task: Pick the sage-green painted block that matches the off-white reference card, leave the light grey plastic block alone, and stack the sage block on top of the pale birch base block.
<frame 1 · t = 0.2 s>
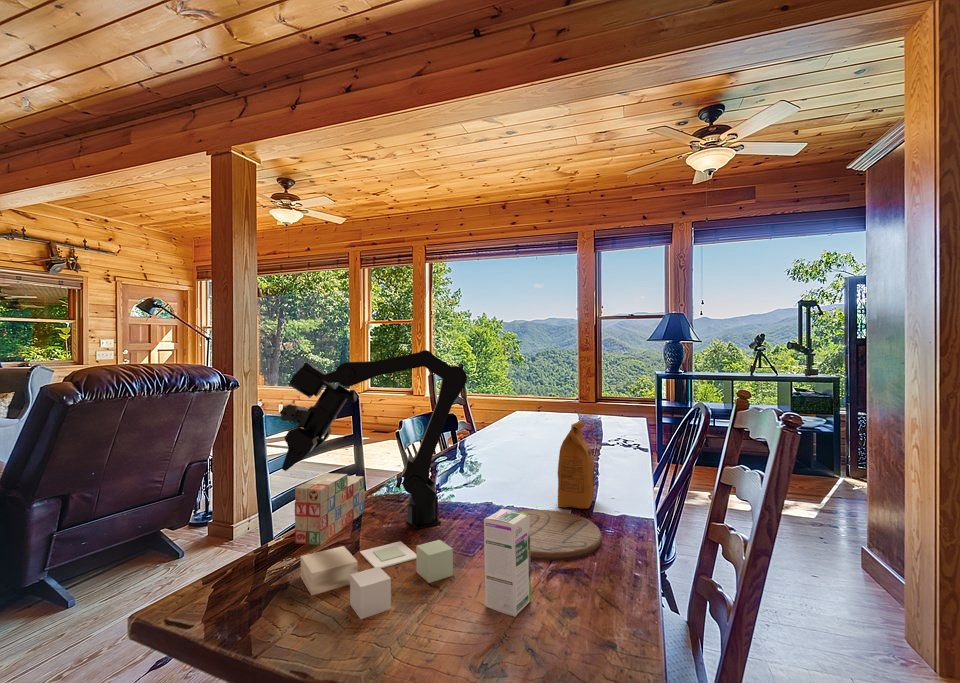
hand: (290, 465, 108), 15 cm above the table, tool tilted 30°, fingers open, 9 cm apart
coffee package: (576, 504, 125), on the table
birch base block: (328, 580, 84), on the table
sage block: (434, 574, 86), on the table
trivet: (543, 537, 104), on the table
stack of blocks: (332, 527, 109), on the table
syrup box: (507, 605, 75), on the table
reference card: (389, 555, 93), on the table
grey block: (370, 607, 75), on the table
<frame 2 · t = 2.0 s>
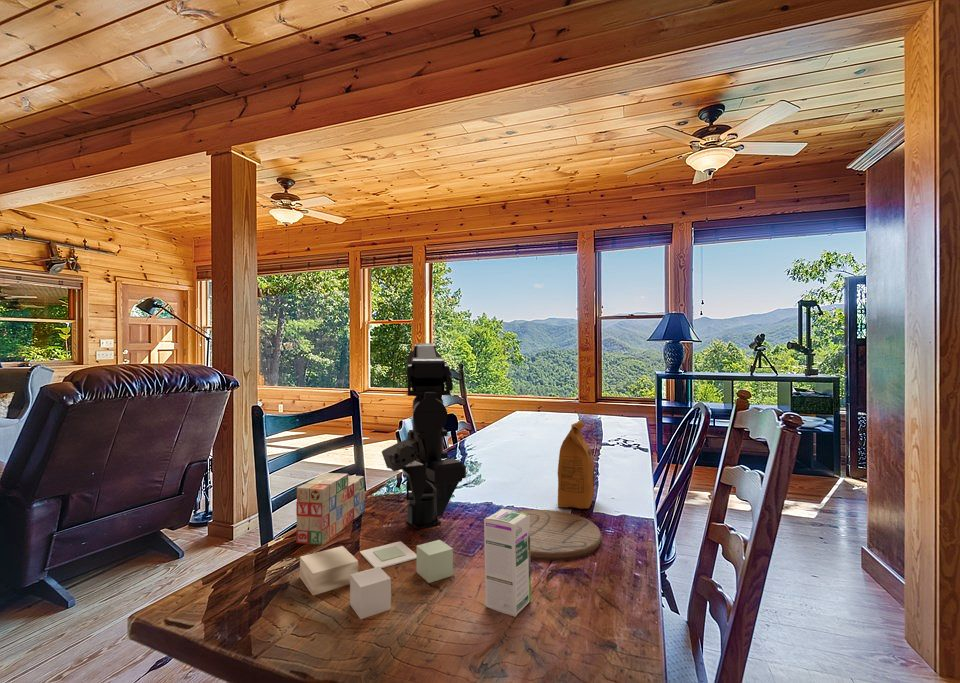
hand: (428, 509, 86), 12 cm above the table, tool pointing down, fingers open, 9 cm apart
nothing on the table moved.
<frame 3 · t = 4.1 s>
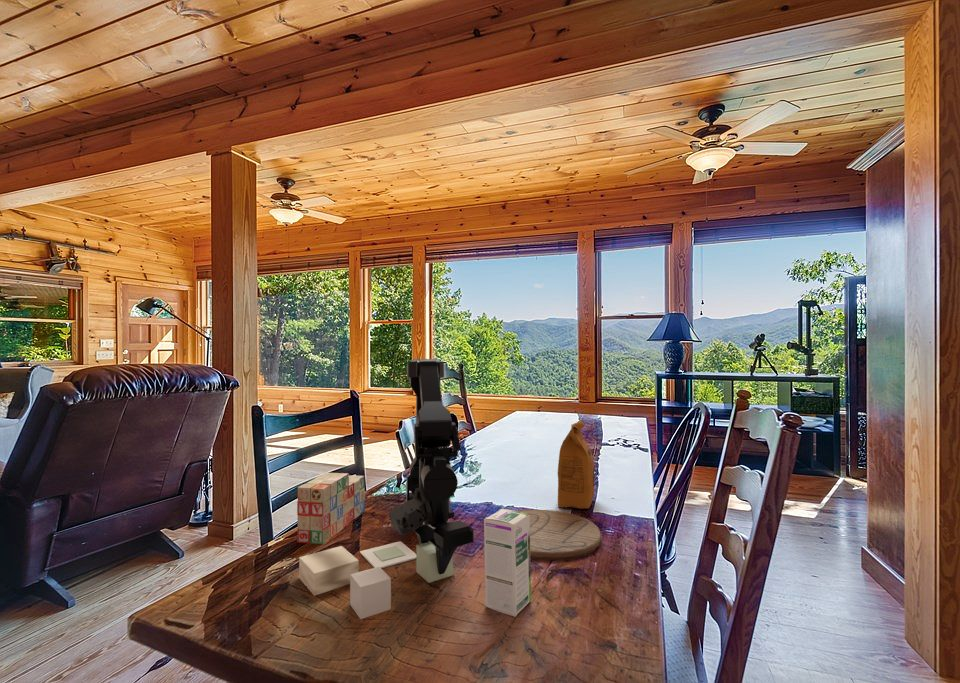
hand: (434, 567, 86), 1 cm above the table, tool pointing down, fingers closed on sage block, 5 cm apart
sage block: (434, 573, 86), on the table, touching gripper
everything else where it was.
when the fingers open (6 cm above the table, at t = 8.5 s): sage block drops 2 cm, resting on birch base block.
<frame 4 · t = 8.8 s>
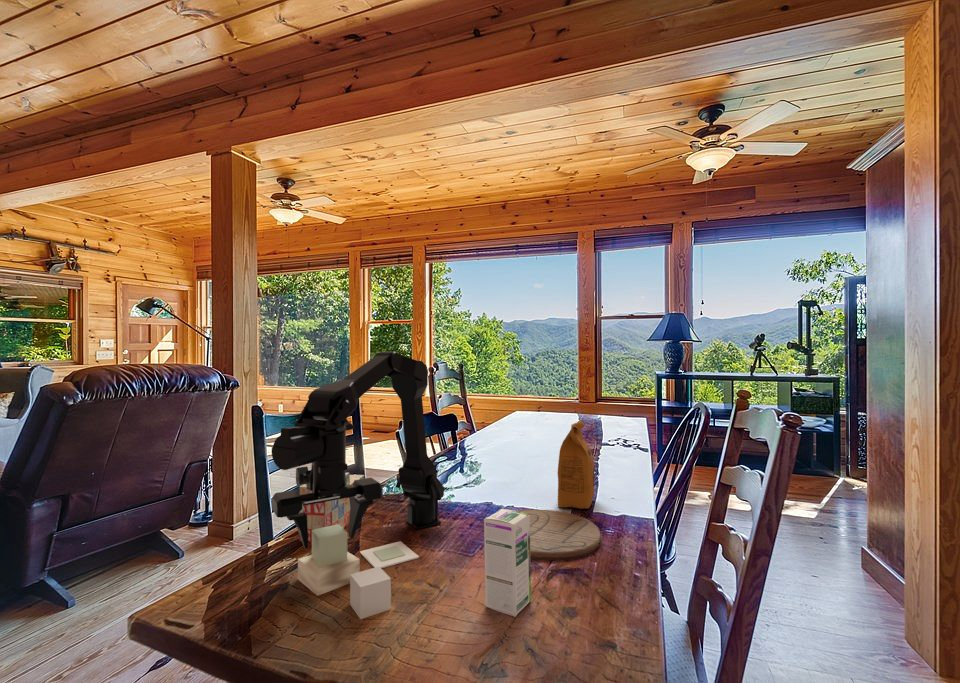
hand: (329, 543, 84), 6 cm above the table, tool pointing down, fingers open, 8 cm apart
birch base block: (328, 581, 84), on the table, touching sage block
sage block: (329, 558, 84), point 4 cm above the table, touching birch base block
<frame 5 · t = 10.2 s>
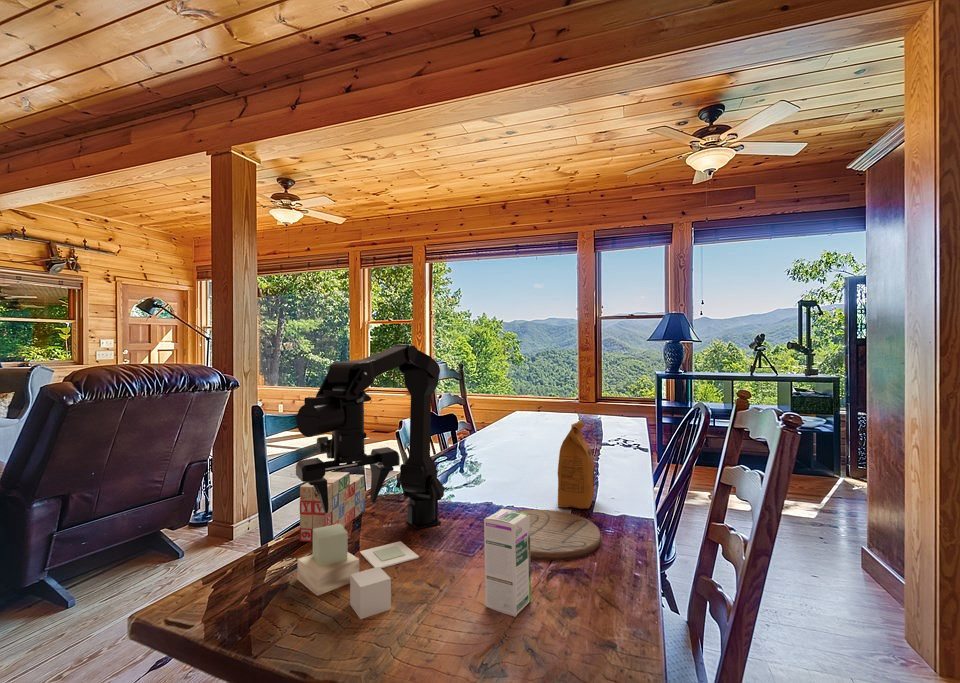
hand: (350, 507, 89), 11 cm above the table, tool pointing down, fingers open, 9 cm apart
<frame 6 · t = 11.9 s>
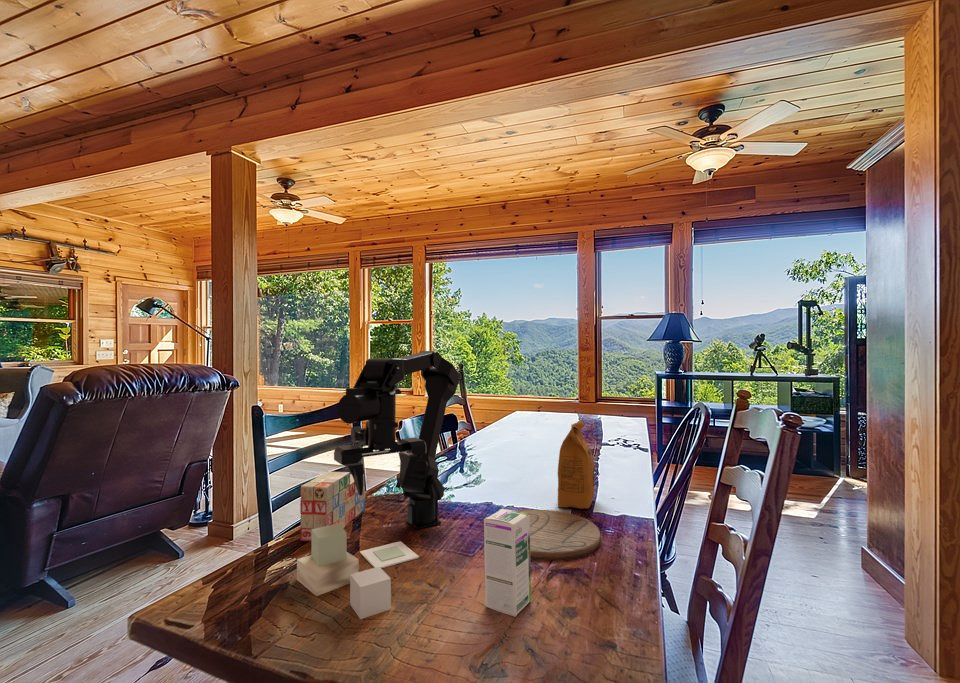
hand: (381, 491, 97), 12 cm above the table, tool pointing down, fingers open, 9 cm apart
at the end: sage block 0.4 cm off-centre on the birch base block, point 4.0 cm above the birch base block's base; sage block tilted 0°; grey block moved 0.1 cm from its start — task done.
